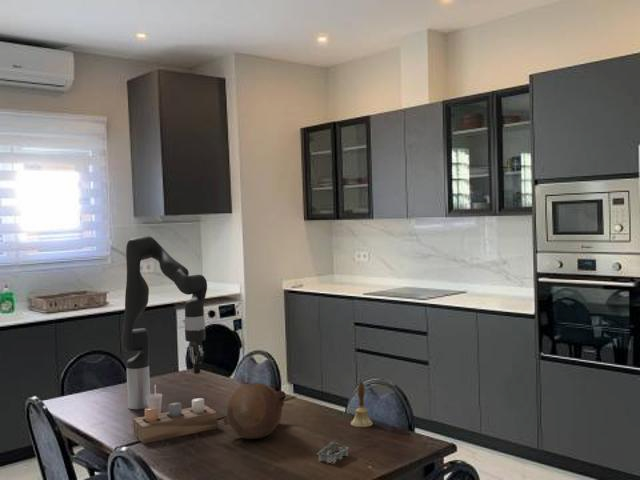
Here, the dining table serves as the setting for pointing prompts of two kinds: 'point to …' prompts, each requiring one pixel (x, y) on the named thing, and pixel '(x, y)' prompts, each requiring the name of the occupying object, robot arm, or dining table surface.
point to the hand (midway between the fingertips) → (196, 373)
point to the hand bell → (361, 410)
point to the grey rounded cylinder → (175, 410)
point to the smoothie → (154, 400)
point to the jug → (254, 410)
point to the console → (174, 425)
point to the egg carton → (328, 452)
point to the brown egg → (151, 414)
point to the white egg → (198, 405)
